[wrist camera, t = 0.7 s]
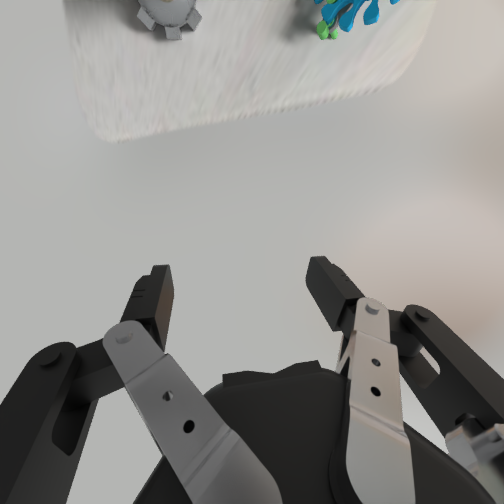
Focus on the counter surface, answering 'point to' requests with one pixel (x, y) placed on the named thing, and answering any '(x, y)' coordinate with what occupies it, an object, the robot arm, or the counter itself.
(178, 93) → the counter surface
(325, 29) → the blue splat disc
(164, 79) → the counter surface
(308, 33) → the counter surface
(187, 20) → the gear
